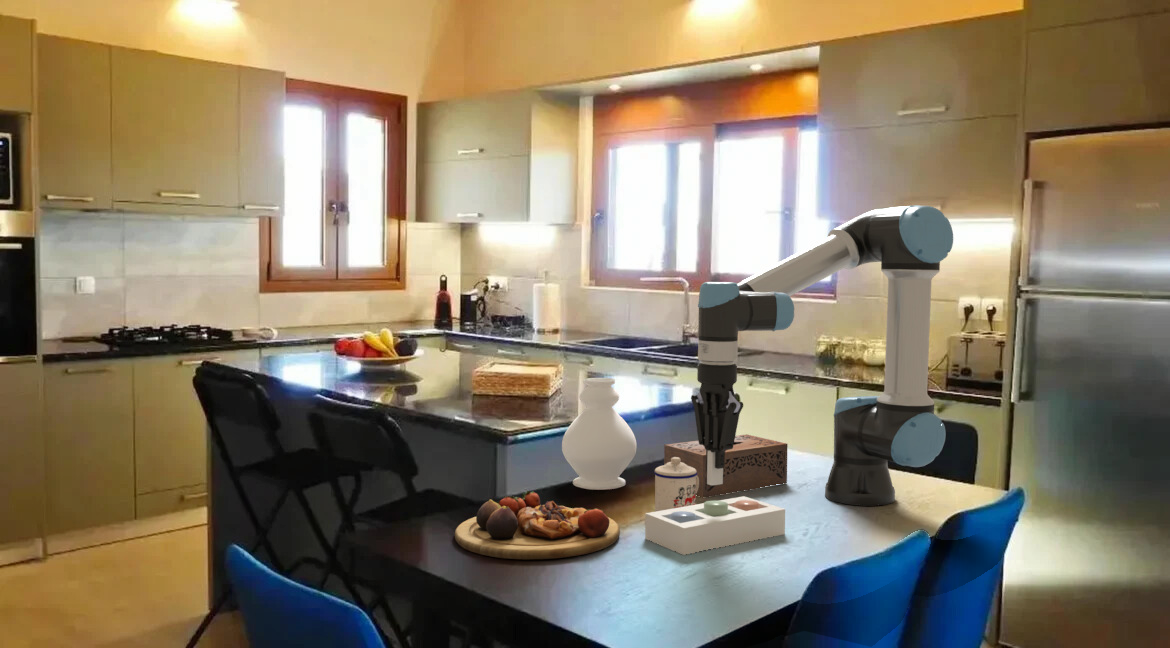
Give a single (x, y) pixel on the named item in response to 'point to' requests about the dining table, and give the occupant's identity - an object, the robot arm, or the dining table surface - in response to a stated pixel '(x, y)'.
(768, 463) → the tissue box cover
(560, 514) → the wooden plate with food
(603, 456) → the decorative vase
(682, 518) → the button slate
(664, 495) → the teacup with lid
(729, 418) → the robot arm
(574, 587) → the dining table surface
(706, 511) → the button sage
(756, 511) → the tray
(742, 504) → the button terracotta
